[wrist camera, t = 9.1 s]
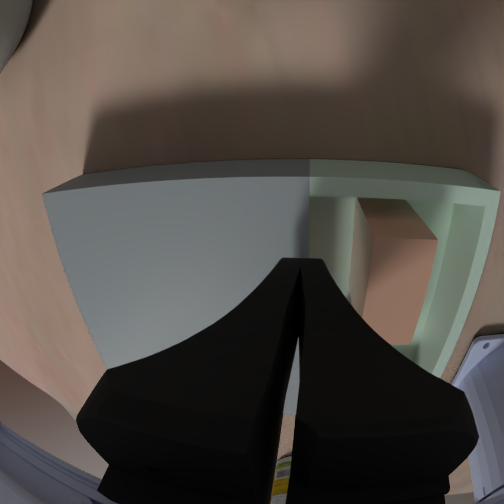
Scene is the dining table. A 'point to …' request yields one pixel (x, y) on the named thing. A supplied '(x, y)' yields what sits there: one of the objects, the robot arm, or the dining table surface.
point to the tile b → (390, 266)
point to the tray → (435, 217)
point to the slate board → (176, 247)
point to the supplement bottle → (281, 481)
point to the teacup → (12, 26)
